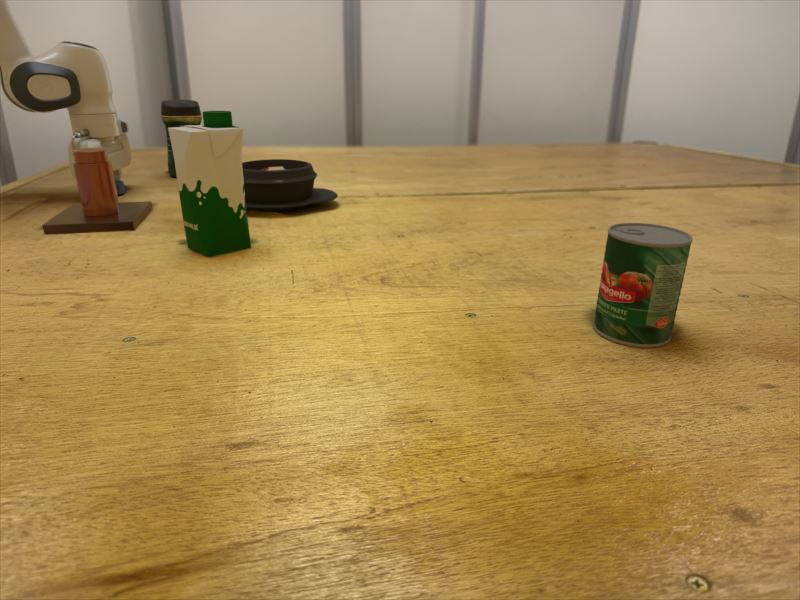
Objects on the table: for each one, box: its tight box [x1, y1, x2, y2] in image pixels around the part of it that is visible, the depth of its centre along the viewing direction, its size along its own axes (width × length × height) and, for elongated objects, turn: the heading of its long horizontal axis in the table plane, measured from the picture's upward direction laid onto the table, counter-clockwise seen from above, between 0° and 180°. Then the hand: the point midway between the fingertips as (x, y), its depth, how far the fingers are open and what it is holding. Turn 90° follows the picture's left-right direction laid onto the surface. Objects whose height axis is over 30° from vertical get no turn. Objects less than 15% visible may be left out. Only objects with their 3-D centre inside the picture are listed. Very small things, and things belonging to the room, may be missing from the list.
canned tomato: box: [592, 222, 694, 349], centre depth 57 cm, size 8×8×11 cm
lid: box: [115, 180, 126, 195], centre depth 120 cm, size 6×6×2 cm
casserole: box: [242, 158, 339, 213], centre depth 110 cm, size 25×19×8 cm
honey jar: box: [72, 148, 120, 216], centre depth 97 cm, size 6×6×11 cm
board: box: [41, 200, 153, 235], centre depth 100 cm, size 14×16×2 cm
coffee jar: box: [160, 99, 203, 178], centre depth 140 cm, size 10×8×19 cm
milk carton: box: [168, 110, 252, 258], centre depth 82 cm, size 9×9×20 cm
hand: (108, 193), depth 121 cm, fingers closed on lid, 6 cm apart
